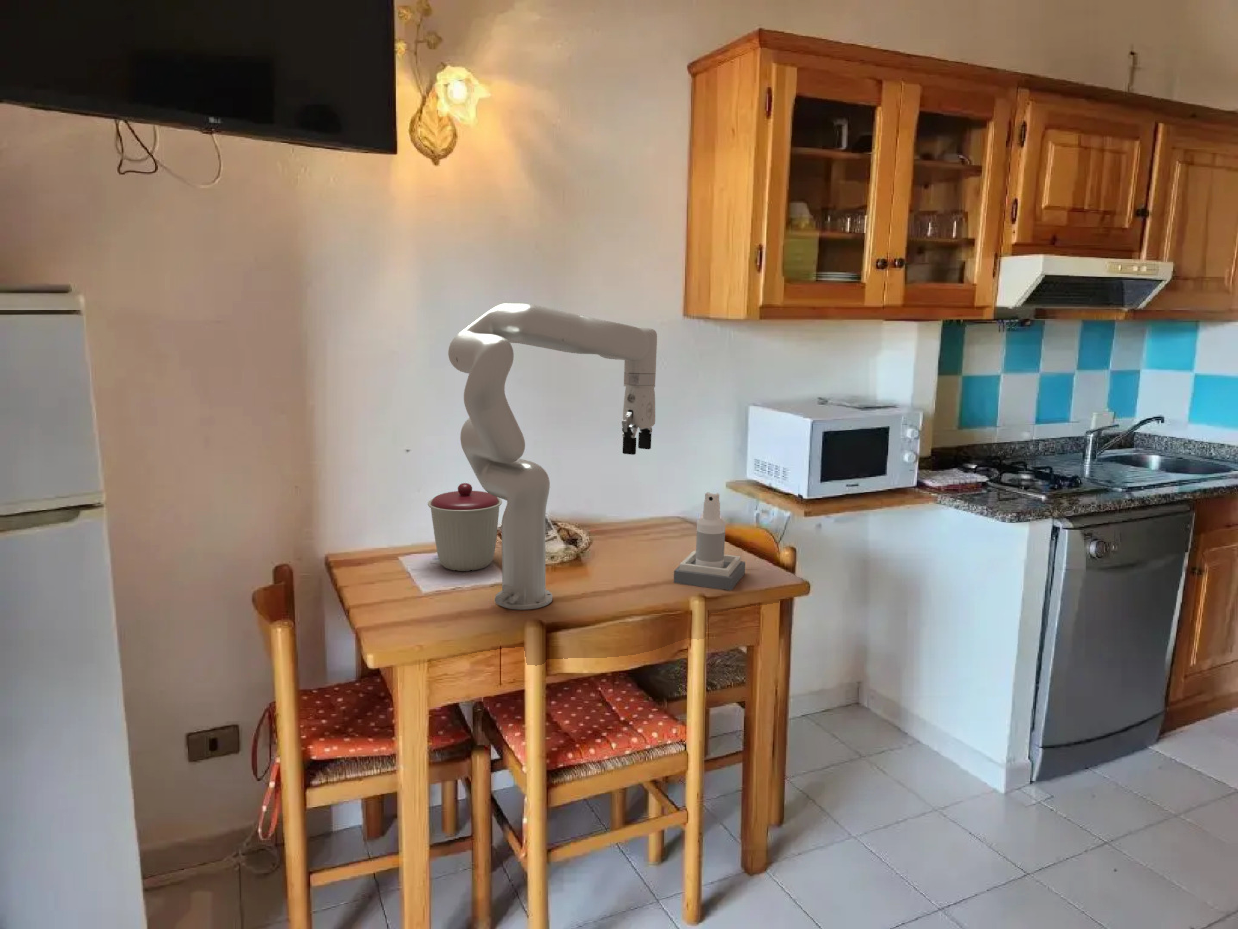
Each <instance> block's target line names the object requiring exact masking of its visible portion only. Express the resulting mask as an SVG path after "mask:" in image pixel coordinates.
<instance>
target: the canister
mask: <svg viewBox="0 0 1238 929" xmlns="http://www.w3.org/2000/svg"><path fill="white" fill-rule="evenodd" d="M502 504H503V499H501V498H498V497H495V496H493V495H491V494H489V493H488V492H487V491H480V490H473V486H472V484H470V483H466V482H465V483H464V482H463V483H460V484H459V485H457V490H454V491H448V492H444V493H441V494H438V495H436V496H435V497H433V498H431V499H430V500H428V502H427V505H428V507H429V509H430V511H431V521H432V526H433V528H432V529H433V535H434V542H435V546H436V553H437V558H438V561H439V562H440V564H441V565H442V566H443V567H444V568H446V569H448V570H451V571H455V570H457V572H471V571H470V570H472V571H476V570H477V571H478V570H482V569H485V568H487V567H489V565H490V564H492V562H493V559H494V558H495V557H494V556H495V554H496V553H495V552H496V543H497V537H498V536H497V534H498V526H499V514H500V506H501V505H502Z"/></svg>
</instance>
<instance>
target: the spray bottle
mask: <svg viewBox="0 0 1238 929" xmlns="http://www.w3.org/2000/svg"><path fill="white" fill-rule="evenodd" d="M720 510H721V502H720V493H719V492H718V493H717V492H716V493H711V492H705V493H704V502H703V511H702V517H701V518H699V519H698V520H697V521H696V538H695V539H696V540H695V541H696V542H695V543H696V544H695V551H696V565H701V566H709V567H717V568H723V566H724V554H725V541H726V522H725V521H724V519H722V518H721V511H720Z"/></svg>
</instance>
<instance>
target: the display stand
mask: <svg viewBox="0 0 1238 929" xmlns="http://www.w3.org/2000/svg"><path fill="white" fill-rule="evenodd" d="M745 573H746V561H744V560H743V561H742V558H741V556H740V555H732V554H725V553H724V566H723V568H717V567H709V566H701V565H696V550H693V551H692V552H691V553H690V554H688V555H687V556H686V557H685V558H684V559H683V560H682V561H681V562H680V563H679V566H678V567H677V568H675V569H674V571H673V583H674V584H680V585H688V586H692V587H693V586H695V587H702V588H709V589H716V590H722V589H727V590H726V591H730V590H731V591H732V590H733V589H734V588H735V587H736V585H737V584H738V583H739V582H740V581H741V579H742V578H743V576H744V575H745Z"/></svg>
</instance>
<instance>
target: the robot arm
mask: <svg viewBox="0 0 1238 929" xmlns="http://www.w3.org/2000/svg"><path fill="white" fill-rule="evenodd" d="M512 344H521V345H527V346H531V347H536V348H537V347H538V348H544V349H548V350H553V351H559V352H564V353H571V354H580V355H598V356H599V357H601V358H604V359H607V360H608V359H609V360H618V361H619V360H621V361H624V366H623V367H624V368H623V387H625V388H624V389H625V390H624V398H623V410H622V412H623V413H622V420H621V426H622V428H621V430H622V431H621V432H622V454H624V455H632V456H634V455H636V454H637V448H638V449H639V450H640V449H643V450H651V449H652V433H653V427H654V425H655V424H656V394H655V393H656V392H655V388H656V375H657V374H656V372H657V349H658V347H657V346H658V333H657V331H656V330H655V329H653V328H648V327H647V328H646V327H636V326H633V325H630V324H629V325H628V324H624V323H620V322H614V321H610V320H603V319H599V318H595V317H590V316H586V315H582V314H581V315H580V314H576V313H571V312H567V311H563V310H558V309H553V308H550V307H545V306H541V305H536V304H532V303H526V302H525V303H521V302H520V303H518V302H516V303H515V302H511V303H510V302H506V303H505V302H504V303H501V304H500V303H499V304H498V305H496V306H494V307H492V308H491V309H489V310H487V311H486V312H485V313H484V314H482V315H480V317H478V318H477V319H476V320H475V321H473V322H472V323H471V324H469V325H468V326H467V327H465V328H464V329H462V330H461V331H460V332H458V333H457V334H456V335H455V337H453V338H452V340H451V342H450V343H449V347H448V352H447V356H448V359H449V362H450V363H451V365H452V366H453V367H454V369H456V370H457V371H459V372H462V373H465V374H468V375H467V376H468V377H467V379H466V383H465V386H464V390H463V403H464V407H465V409H466V413H467V416H468V417H469V418H467V419H466V420H465V421H464V424H463V425H462V427H461V430H460V445H461V448H462V450H463V453H464V455H465V457H466V460H467V461H468V464H469V465H470V467H471V469H472V472H473V473H474V475H475V477H476V478H477V480H478V482H479V484H480V486H481V487H482V489H484V490H485V491H484V492H487V493H489V494H491V495H493V496H495V497H498V498H500V499H501V500H505V501H507V502H506V506H505V508H504V511H503V515H502V518H501V564H502V565H501V573H502V574H501V578H502V580H501V582H502V584H501V589H502V590H500V591H499V592H497V593H496V594H495V597H494V602H495V604H496V605H498V606H500V607H502V608H505V609H510V610H516V611H517V610H519V611H520V610H521V611H522V610H523V611H524V610H535V609H540V608H543V607H547V606H548V605H549V604H550V603H552V601H553V593H552V592H551V591H550V590H548V589H547V588H546V515H547V511H546V510H547V504H548V499H549V493H550V488H551V486H550V483H551V482H550V477H549V475H548V473H547V471H546V470H545V468H543V466H541V465H539V464H538V463H535V462H533V461H531V460H526V459H522V456H523V454H524V453H525V449H526V441H525V437H524V435H523V432H522V430H521V428H520V426H519V423H518V421H517V420H516V417H515V415H514V413H513V411H512V409H511V407H510V405H509V401H508V399H507V397H506V391H505V390H506V388H505V385H506V381H507V378H508V375H509V373H510V371H511V369H512V367H513V363H514V357H515V356H514V355H515V354H514V348H513V345H512ZM638 429H639V432H638ZM637 432H638V439H637V437H636V434H637ZM637 441H638V444H637Z"/></svg>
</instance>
